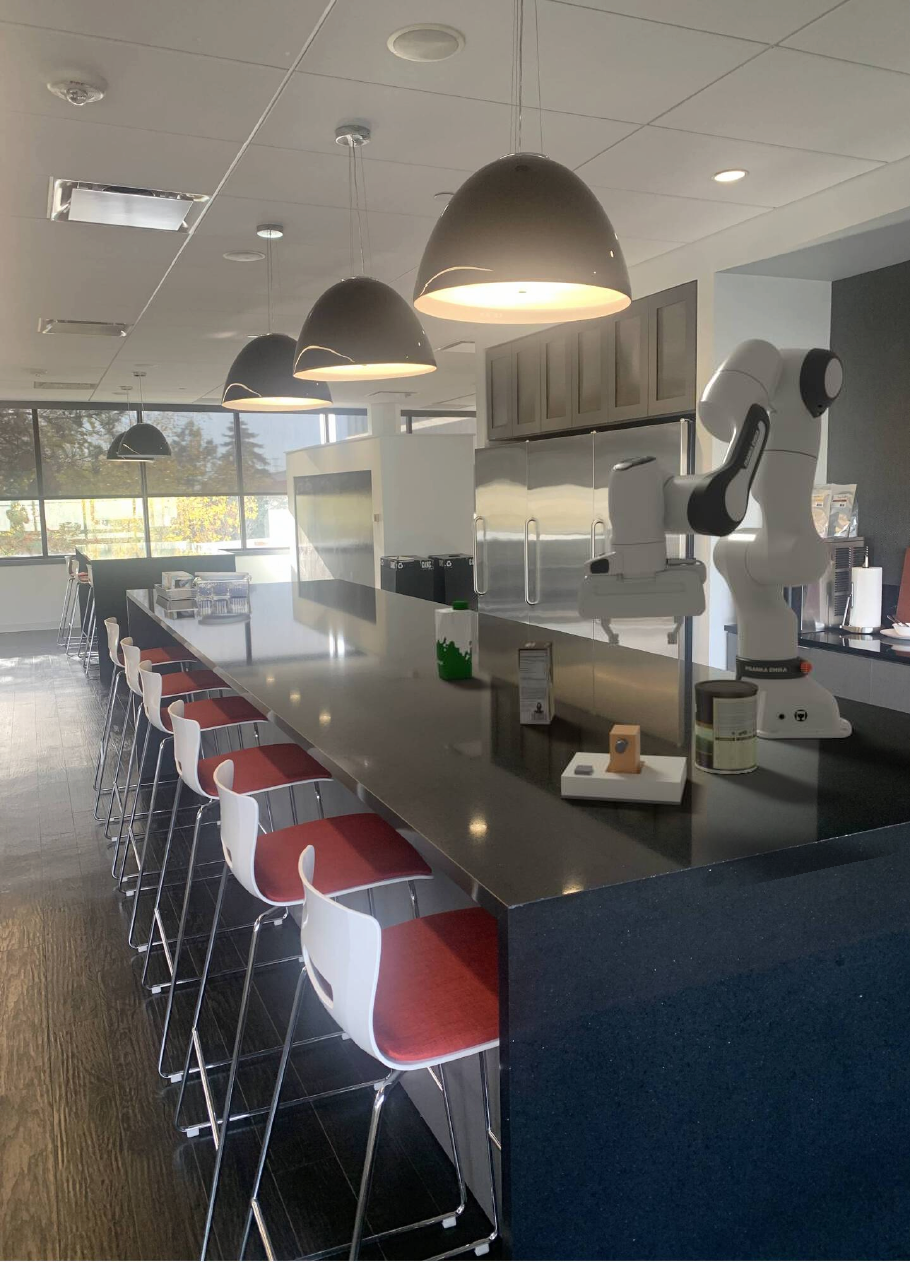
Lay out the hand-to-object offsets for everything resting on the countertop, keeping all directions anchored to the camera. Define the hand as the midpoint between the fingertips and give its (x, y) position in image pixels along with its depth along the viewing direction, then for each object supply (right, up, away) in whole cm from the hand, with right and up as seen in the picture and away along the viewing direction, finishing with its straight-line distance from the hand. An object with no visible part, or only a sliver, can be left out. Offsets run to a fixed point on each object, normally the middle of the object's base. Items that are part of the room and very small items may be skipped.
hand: (643, 644), depth 154 cm
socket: (-3, -23, -3) cm, 23 cm away
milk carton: (-31, -10, +97) cm, 102 cm away
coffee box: (-13, -17, +46) cm, 50 cm away
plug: (-4, -23, -4) cm, 23 cm away
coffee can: (+15, -21, +7) cm, 27 cm away
